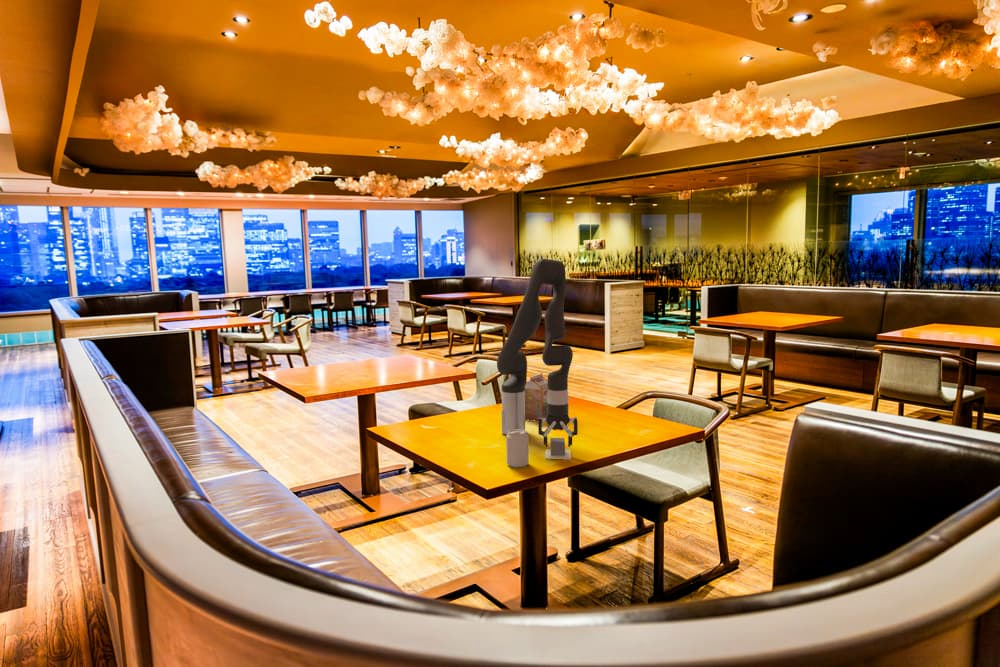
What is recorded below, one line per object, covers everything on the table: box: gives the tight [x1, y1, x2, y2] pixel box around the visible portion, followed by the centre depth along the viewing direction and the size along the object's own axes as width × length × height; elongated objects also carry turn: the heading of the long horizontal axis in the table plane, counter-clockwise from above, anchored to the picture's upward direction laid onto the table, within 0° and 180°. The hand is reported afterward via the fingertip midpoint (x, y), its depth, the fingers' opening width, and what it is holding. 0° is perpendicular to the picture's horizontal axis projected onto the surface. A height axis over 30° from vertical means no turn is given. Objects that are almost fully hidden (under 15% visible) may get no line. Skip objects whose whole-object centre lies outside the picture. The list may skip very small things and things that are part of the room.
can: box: [505, 429, 530, 469], centre depth 220 cm, size 8×8×12 cm
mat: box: [544, 449, 572, 461], centre depth 230 cm, size 9×9×1 cm
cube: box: [549, 437, 566, 456], centre depth 229 cm, size 5×5×5 cm
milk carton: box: [525, 372, 548, 422], centre depth 281 cm, size 11×11×19 cm
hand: (557, 446), depth 229 cm, fingers open, 7 cm apart
